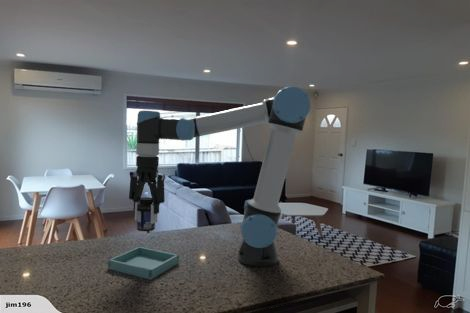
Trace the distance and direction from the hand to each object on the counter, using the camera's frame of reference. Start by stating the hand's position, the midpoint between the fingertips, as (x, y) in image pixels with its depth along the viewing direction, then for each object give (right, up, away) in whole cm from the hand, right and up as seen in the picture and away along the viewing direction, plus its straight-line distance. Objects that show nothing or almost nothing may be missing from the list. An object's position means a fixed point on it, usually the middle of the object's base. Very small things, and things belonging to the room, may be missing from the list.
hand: (146, 221), depth 121 cm
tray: (-1, -16, +1) cm, 16 cm away
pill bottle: (0, -3, 0) cm, 3 cm away
